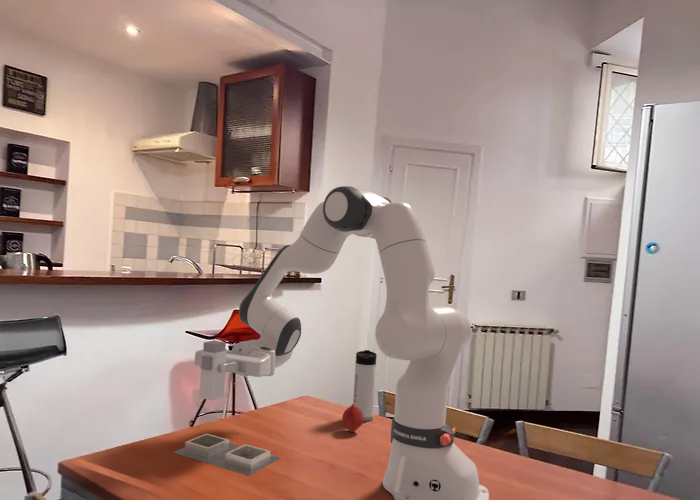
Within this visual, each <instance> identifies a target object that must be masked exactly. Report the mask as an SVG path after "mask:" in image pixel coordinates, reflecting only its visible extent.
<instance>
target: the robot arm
mask: <svg viewBox="0 0 700 500" xmlns="http://www.w3.org/2000/svg"><path fill="white" fill-rule="evenodd" d="M351 235H355V236H358V237H362V238H371V239H374V240H375V241H376V246H377V250H378V254H379V259H380V262H381V267H382V271H383V275H384V281H385V286H386V299H385V306H384V311H383V313H382V315H381V316H380V317H379V319H378V321H377V322H376V326H375V331H374V333H375V341H376V344H377V347H378V349H379V350H380V351H381V352H382V354H383V355H384V356H386V357H388V358H390V359H395V360H400V361H401V360H402V361H410V362H409V364H408V366H407V368H406V370H405V371H404V372H403V374H402V375H401V376H400V377H399V379H398V380H397V383H396V386H395V399H394V401H395V402H394V413H393V414H394V416H393V417H392V419H391V427H390V444H391V447H390V454H389V458H388V463H387V468H386V469H385V474H384V475H383V476H384V477H383V479H382V486H383V488H384V489H385V490H386V491H387V492H388V493H390V494H391V495H392V497H393V499H394V500H490V492H489V490H488V489H487V487H486V486H485V485H482V484H480V479H479V471H478V468H477V466H476V464H475V462H473V460H471V459H470V457H468V456H467V455H466V454H465V453H464V452H463V451H462V450H461V449H460V448H459V447H458V446H457V445H456V444H455V443H454V438H455V434H456V427H453V428H451V427H450V426H449V424H447V422H446V417H447V408H448V407H447V405H448V404H447V403H448V395H449V394H448V393H449V388H450V382H451V380H452V375H453V373H454V370H455V366H456V365H457V362H458V359H459V356H460V355H461V353H462V352H463V349H464V348H465V347H466V346H467V345H468V343H469V341H470V340H471V336H472V327H471V322H470V320H469V319H468V317H467V316H466V314H465V313H464V312H462V311H461V310H459V309H457V308H453V307H449V306H447V305H435V306H431V305H430V301H429V297H430V296H429V291H430V290H429V289H430V286H431V284H432V283H433V282H434V280H435V276H436V273H435V268H434V265H433V261H432V258H431V253H430V249H429V247H428V242H427V240H426V237H425V233H424V230H423V227H422V225H421V223H420V221H419V219H418V216H417V214H416V213H415V210H414V208H413V207H412V206H411V205H410V204H408V203H406V202H403V201H392V200H391V199H389V198H387V197H385V196H381V195H379V194H377V193H375V192H373V191H369V190H367V189H363V188H362V189H361V188H356V187H354V186H346V185H345V186H344V185H343V186H338V187H335V188H333V189H332V190H330V191H329V192H328V193H327V195H326V197H325V198H324V201H321V202H320V203H319V204H318V205H317V206H316V208H314V210H313V211H312V213H311V215H310V216H309V218H308V219H307V221H306V222H305V224H304V227H303V228H302V230H301V232H300V234H299V236H298V237H297V239H296V240H295V241H294V242H293V243H292V244H286V245H285V246H282V248H280V250H278V252H277V253H276V254H275V256H274V257H273V258H272V260H271V261H270V263H269V264H268V265H267V267H266V268H265V270H264V271H263V273H262V274H261V276H260V277H259V279H258V281H257V282H256V283H255V285H253V287H252V289H251V290H250V291H249V292H248V293H247V294H246V295H245V297H244V298H243V299H242V301H241V302H240V304H239V309H238V313H239V314H238V315H239V320H240V322H241V323H242V324H244V325H246V326H247V327H249V328H250V329H253V330H254V331H255V332H256V333H257V334H259V335H260V337H259V338H258V339H250V340H245V341H239V342H238V343H236V344H234V346H233V347H232V349H231V350H229V349H225V351H227V352H226V364H224V363H222V364H219V365H218V369H217V371H218V372H222V373H224V372H225V373H234V374H237V375H238V376H241V377H245V378H246V377H253V378H254V377H255V378H261V377H272V376H274V374H275V370H276V368H278V367H281V366H282V365H284V364H285V363H287V362H288V361H290V359H291V357H292V355H293V353H294V352H293V350H294V349H295V347H296V346H297V344H298V343H299V341H300V339H301V335H302V323H301V319H300V318H299V317H298V316H296V315H295V314H293V312H291V311H290V310H288V309H287V308H286V307H284V306H282V305H281V304H280V303H279V302H278V301H276V300H275V299H274V297H273V293H274V292H275V290H276V288H277V287H278V285H279V284H280V283H281V281H282V280H283V278H284V277H285V275H286V274H287V273H288V272H290V271H291V272H296V273H302V274H309V275H317V274H321V273H324V272H326V271H328V270H329V269H330V268H331V267H332V266H333V264H335V261H336V259H337V258H338V256H339V254H340V252H341V249H342V247H343V245H344V243H345V241H346V240H347V238H349V236H351ZM202 351H203V349H200V350H196V351H195V353H194V365H195V366H196V367H197V366H199V368H200V369H201V359H202Z"/></svg>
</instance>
